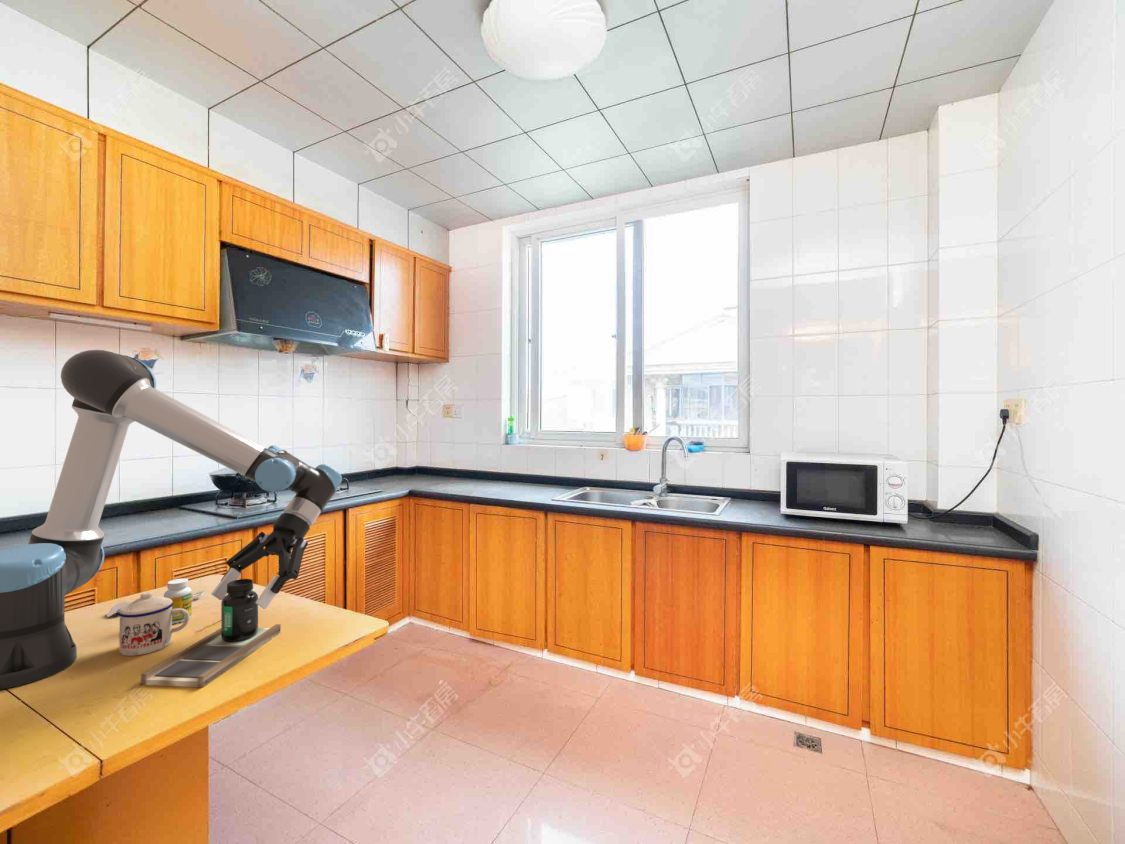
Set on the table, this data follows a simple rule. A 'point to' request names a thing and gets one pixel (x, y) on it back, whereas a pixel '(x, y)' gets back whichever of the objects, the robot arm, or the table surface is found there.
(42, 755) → the table surface
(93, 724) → the table surface
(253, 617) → the supplement bottle
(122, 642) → the teacup with lid
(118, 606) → the stirrer
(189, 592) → the supplement bottle
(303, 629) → the table surface
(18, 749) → the table surface
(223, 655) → the window panel
